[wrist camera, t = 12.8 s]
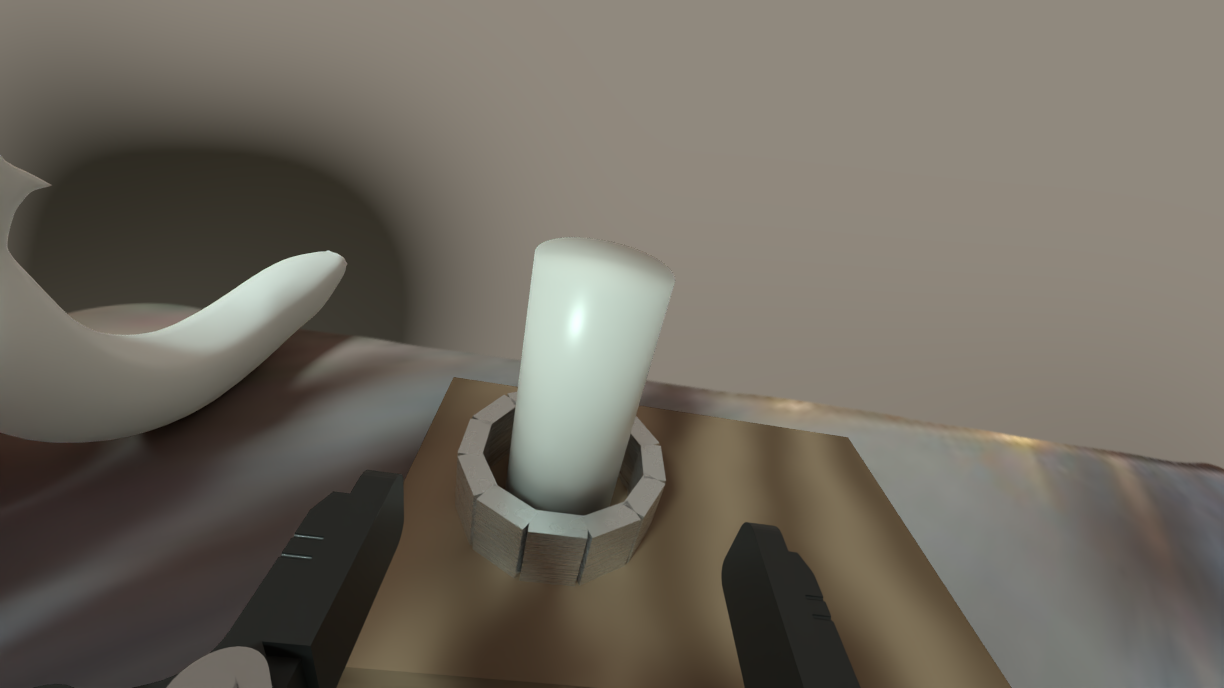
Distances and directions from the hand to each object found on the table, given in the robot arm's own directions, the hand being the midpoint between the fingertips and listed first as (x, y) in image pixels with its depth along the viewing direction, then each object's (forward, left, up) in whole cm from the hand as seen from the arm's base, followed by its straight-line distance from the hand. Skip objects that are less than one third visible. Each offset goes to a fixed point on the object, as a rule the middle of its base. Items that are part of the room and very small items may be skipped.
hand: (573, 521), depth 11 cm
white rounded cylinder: (0, -8, -9) cm, 12 cm away
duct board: (-6, -8, -10) cm, 15 cm away
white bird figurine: (+19, -14, -10) cm, 26 cm away
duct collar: (0, -8, -9) cm, 12 cm away
